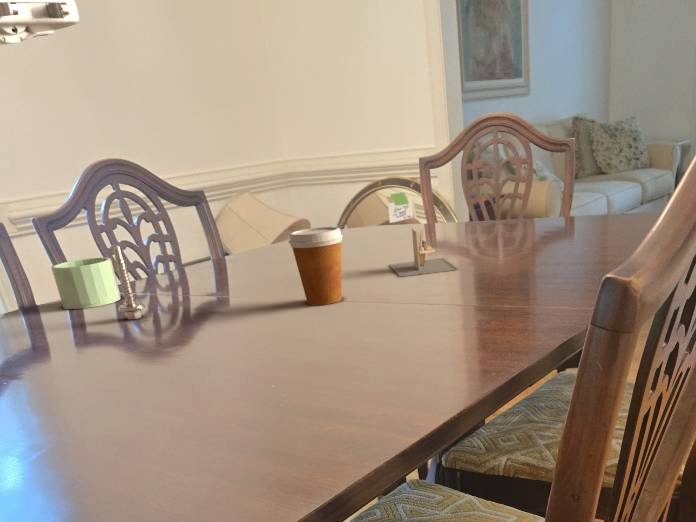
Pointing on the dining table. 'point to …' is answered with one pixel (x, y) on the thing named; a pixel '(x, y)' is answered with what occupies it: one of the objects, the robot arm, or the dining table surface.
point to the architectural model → (421, 259)
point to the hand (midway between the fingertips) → (40, 8)
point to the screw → (126, 288)
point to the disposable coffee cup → (319, 263)
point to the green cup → (86, 283)
